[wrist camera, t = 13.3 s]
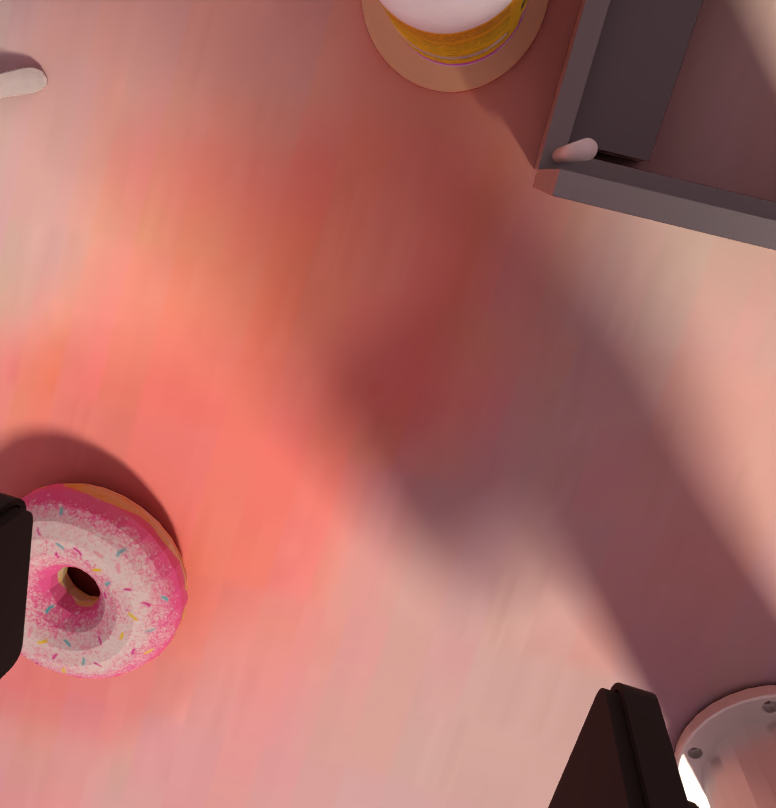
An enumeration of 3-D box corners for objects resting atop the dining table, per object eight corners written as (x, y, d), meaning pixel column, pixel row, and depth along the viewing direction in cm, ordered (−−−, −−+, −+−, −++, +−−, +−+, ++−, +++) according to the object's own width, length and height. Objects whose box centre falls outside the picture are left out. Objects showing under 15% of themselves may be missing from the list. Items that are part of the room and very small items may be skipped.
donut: (221, 517, 45) (189, 557, 40) (175, 673, 50) (142, 725, 45) (28, 442, 46) (-26, 473, 41) (-1, 604, 50) (-52, 648, 45)
